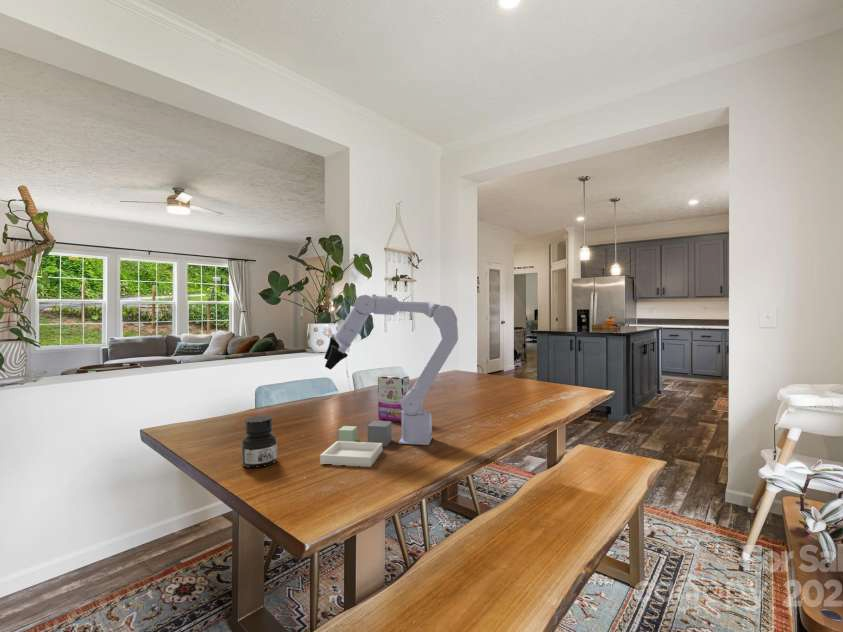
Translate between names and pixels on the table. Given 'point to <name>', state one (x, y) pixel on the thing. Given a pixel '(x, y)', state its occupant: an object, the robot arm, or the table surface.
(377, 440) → the gray block
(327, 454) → the tray
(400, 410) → the candy bar box
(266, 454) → the ink bottle
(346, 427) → the sage block
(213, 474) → the table surface
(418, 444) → the robot arm
